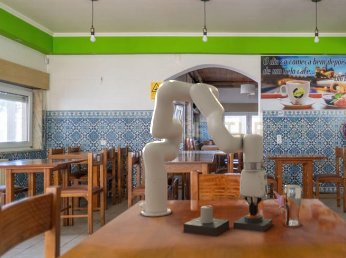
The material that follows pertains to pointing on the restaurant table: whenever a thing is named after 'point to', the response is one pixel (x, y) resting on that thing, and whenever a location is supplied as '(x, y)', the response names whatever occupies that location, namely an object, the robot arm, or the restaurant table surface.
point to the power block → (253, 223)
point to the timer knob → (206, 214)
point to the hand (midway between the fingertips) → (253, 214)
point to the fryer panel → (206, 227)
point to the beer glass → (292, 204)
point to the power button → (253, 216)
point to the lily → (279, 201)
